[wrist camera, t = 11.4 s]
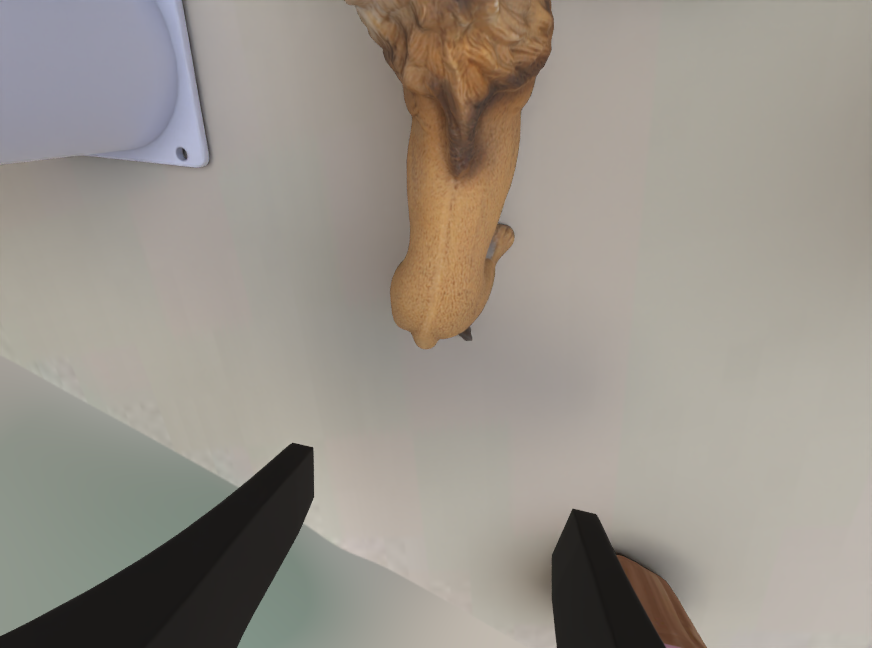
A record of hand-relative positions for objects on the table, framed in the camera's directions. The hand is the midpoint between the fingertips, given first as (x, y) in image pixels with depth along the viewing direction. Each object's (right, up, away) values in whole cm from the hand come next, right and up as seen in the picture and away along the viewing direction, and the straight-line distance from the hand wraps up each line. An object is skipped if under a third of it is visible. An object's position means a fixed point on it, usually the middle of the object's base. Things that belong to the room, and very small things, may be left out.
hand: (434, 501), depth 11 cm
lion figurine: (+1, +11, +5) cm, 12 cm away
